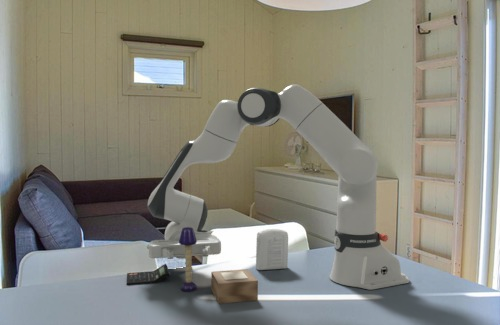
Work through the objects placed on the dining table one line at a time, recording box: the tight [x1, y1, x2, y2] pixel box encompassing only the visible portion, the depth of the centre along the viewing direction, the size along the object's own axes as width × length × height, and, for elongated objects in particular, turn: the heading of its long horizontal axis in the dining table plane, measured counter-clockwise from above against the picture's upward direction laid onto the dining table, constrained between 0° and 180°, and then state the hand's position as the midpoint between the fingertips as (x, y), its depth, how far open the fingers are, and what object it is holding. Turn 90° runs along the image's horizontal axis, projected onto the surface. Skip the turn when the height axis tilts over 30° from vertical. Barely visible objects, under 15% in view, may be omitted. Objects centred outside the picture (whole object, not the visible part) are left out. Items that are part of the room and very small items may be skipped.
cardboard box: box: [210, 268, 259, 305], centre depth 117 cm, size 10×10×5 cm
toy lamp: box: [179, 227, 198, 293], centre depth 120 cm, size 5×5×17 cm
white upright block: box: [255, 228, 289, 271], centre depth 140 cm, size 10×4×12 cm, turn 107°
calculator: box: [126, 263, 170, 286], centre depth 130 cm, size 9×12×3 cm
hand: (188, 254), depth 120 cm, fingers open, 8 cm apart
